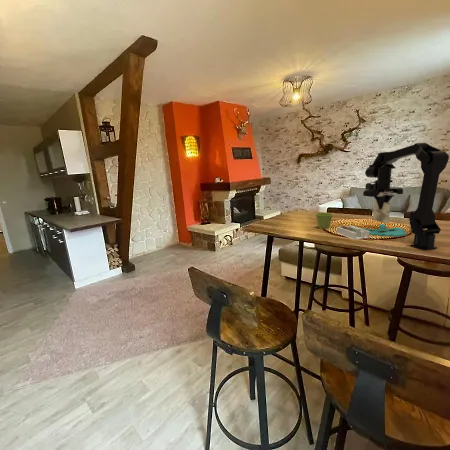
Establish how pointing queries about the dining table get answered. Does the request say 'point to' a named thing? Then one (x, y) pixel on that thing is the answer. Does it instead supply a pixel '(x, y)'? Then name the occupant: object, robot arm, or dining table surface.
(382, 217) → the birch sheet
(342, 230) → the board rack
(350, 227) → the sage offcut
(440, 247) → the dining table surface
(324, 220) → the plant pot
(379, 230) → the alien figure
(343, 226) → the walnut offcut
